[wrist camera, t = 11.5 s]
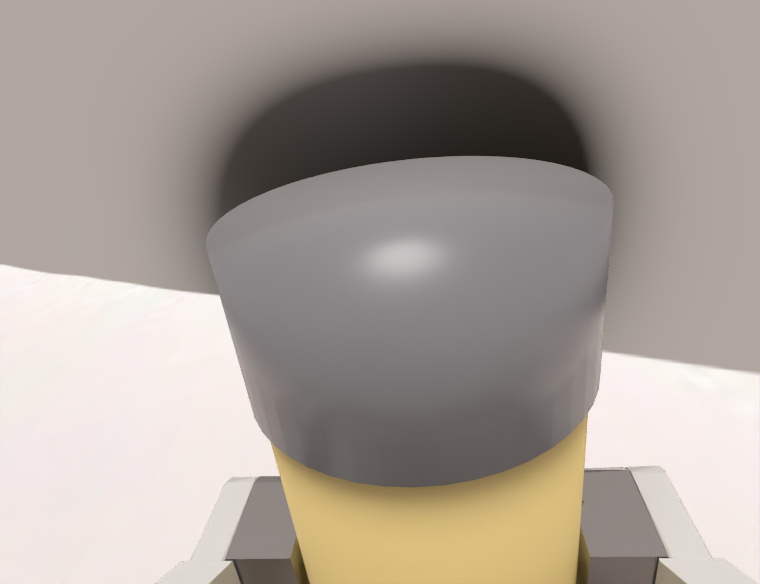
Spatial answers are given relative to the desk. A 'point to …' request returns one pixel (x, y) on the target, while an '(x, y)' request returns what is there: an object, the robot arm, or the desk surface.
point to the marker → (424, 362)
